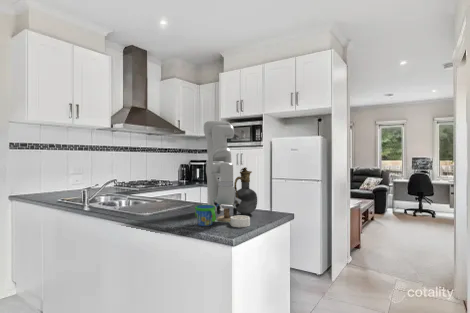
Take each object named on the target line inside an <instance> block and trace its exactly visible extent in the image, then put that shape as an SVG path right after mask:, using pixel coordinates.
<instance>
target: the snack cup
mask: <svg viewBox="0 0 470 313" xmlns="http://www.w3.org/2000/svg"><path fill="white" fill-rule="evenodd" d="M194 209H195V212H194V216H195V217H196V219H197V225H198V226H201V227H209V226H212V225H213V223H214V222H216V221H215V220H216V219H217V217H216V212H215V211H214V210H215V206H213V205H202V204H200V205H196V206H195V207H194Z"/></svg>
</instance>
